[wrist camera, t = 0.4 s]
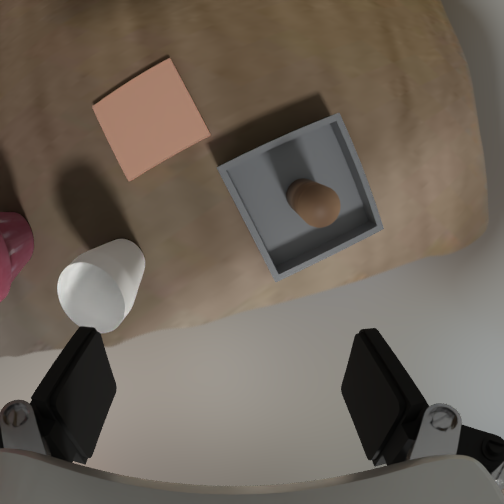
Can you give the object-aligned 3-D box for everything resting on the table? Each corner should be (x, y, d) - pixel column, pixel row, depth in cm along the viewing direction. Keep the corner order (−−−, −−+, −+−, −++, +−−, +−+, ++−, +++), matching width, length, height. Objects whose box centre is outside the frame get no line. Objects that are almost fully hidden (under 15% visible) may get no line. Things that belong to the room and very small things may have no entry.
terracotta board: (171, 60, 31) (169, 57, 30) (211, 135, 35) (210, 134, 34) (95, 107, 32) (92, 106, 31) (131, 180, 36) (128, 181, 35)
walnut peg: (311, 172, 36) (331, 178, 29) (324, 203, 38) (346, 216, 30) (280, 187, 37) (292, 196, 29) (294, 217, 38) (309, 234, 30)
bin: (330, 115, 34) (339, 112, 31) (372, 222, 40) (383, 228, 36) (218, 166, 36) (216, 167, 33) (272, 271, 41) (275, 282, 38)
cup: (114, 217, 37) (73, 243, 26) (165, 256, 39) (141, 296, 28) (87, 264, 39) (47, 302, 28) (134, 300, 41) (106, 347, 30)
